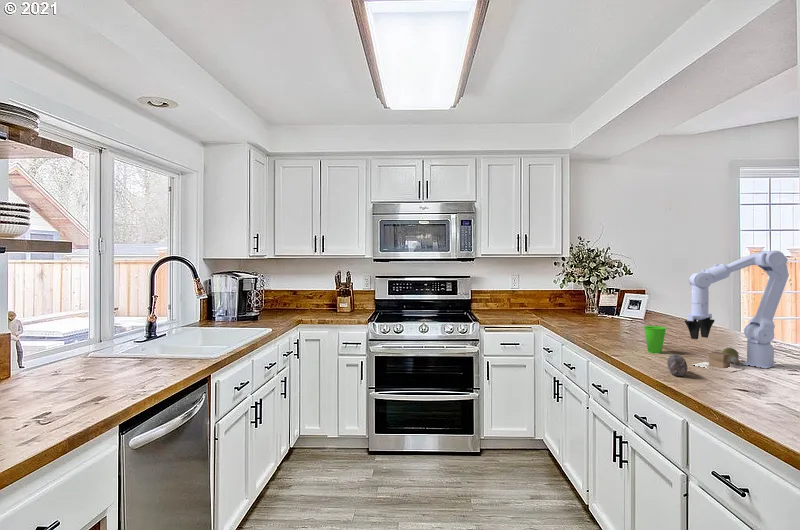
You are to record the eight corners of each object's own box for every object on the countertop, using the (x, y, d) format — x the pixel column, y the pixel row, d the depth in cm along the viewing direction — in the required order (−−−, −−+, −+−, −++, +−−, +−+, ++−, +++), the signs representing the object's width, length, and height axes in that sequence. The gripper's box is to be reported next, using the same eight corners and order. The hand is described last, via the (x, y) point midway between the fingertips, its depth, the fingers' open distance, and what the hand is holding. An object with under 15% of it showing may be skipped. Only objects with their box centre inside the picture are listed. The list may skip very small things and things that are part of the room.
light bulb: (728, 356, 185) (718, 345, 194) (729, 369, 186) (719, 358, 195) (745, 355, 183) (734, 344, 193) (745, 369, 185) (735, 357, 194)
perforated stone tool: (664, 368, 181) (664, 350, 181) (680, 369, 179) (680, 351, 179) (671, 377, 167) (671, 357, 167) (688, 379, 165) (688, 358, 165)
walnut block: (715, 364, 186) (715, 351, 186) (730, 367, 182) (730, 353, 182) (708, 366, 184) (709, 352, 184) (723, 368, 179) (723, 355, 179)
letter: (704, 362, 191) (704, 361, 191) (744, 369, 179) (744, 368, 179) (691, 365, 186) (691, 364, 186) (731, 372, 174) (731, 372, 174)
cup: (644, 353, 209) (644, 328, 209) (642, 349, 217) (642, 325, 217) (667, 355, 206) (668, 329, 205) (665, 351, 214) (665, 326, 214)
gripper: (698, 301, 196) (698, 335, 196) (679, 303, 188) (679, 338, 188) (717, 303, 190) (717, 337, 190) (698, 305, 182) (698, 341, 182)
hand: (699, 338), depth 189 cm, fingers open, 7 cm apart
